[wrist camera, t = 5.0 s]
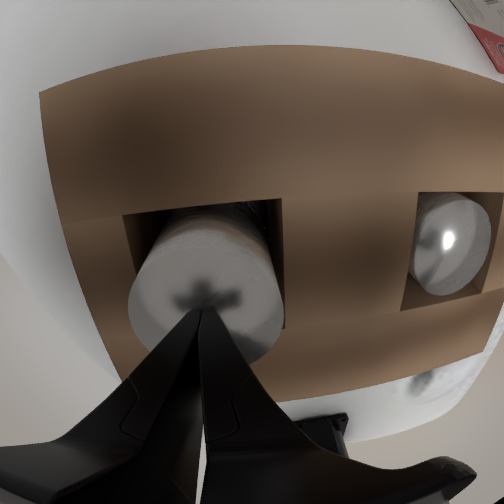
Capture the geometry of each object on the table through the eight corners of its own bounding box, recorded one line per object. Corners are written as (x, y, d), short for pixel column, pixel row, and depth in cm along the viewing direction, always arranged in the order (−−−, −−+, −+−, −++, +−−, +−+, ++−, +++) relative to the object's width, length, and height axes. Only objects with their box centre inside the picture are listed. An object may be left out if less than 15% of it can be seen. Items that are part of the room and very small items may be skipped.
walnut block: (442, 303, 21) (482, 351, 15) (153, 339, 20) (135, 407, 15) (468, 91, 14) (536, 97, 8) (100, 95, 13) (39, 92, 8)
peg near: (267, 282, 15) (284, 367, 10) (172, 290, 15) (150, 375, 10) (261, 188, 13) (282, 240, 8) (154, 199, 13) (109, 256, 8)
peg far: (426, 242, 18) (478, 287, 13) (363, 249, 18) (408, 302, 13) (435, 171, 16) (498, 200, 11) (368, 171, 16) (424, 201, 11)
